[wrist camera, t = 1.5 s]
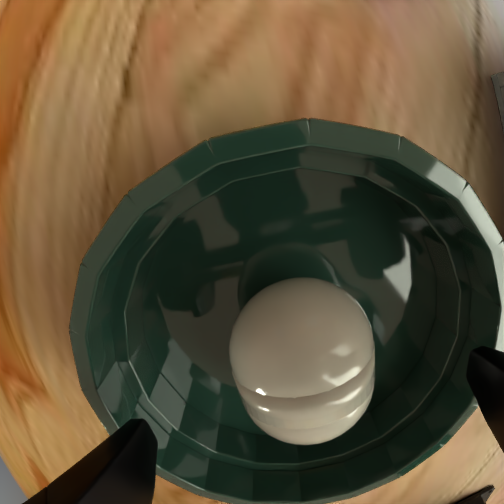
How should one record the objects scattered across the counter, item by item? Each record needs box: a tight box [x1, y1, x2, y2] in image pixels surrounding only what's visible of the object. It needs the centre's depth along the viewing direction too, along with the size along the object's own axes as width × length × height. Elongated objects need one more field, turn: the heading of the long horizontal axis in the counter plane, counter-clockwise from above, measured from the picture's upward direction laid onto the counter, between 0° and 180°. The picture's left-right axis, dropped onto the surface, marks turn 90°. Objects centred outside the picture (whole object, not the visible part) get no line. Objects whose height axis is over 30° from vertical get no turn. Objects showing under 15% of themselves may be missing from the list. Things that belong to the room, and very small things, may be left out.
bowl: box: [69, 118, 504, 504], centre depth 10 cm, size 13×13×4 cm
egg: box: [229, 277, 375, 445], centre depth 9 cm, size 5×4×4 cm
